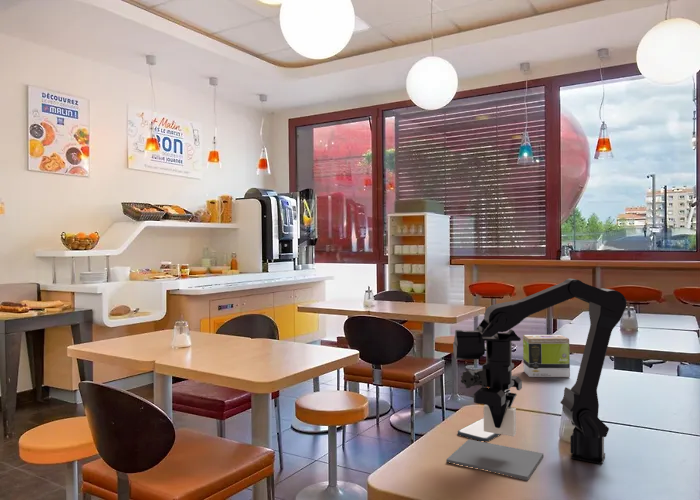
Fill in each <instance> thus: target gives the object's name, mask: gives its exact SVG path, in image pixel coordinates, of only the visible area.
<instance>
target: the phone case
mask: <svg viewBox="0 0 700 500" xmlns="http://www.w3.org/2000/svg"><path fill="white" fill-rule="evenodd" d="M459 435H461V436H460V437H462V436H465V437H464V438H466V437H468V438H467V439H470V438H472V439H471V440H473V439H476V440H475V441H477V440H479V441H488V442H490V441H492V440H494V439H495V438H494V437H496V438H498V437H499V436H501V435H500V434H496V433H491V432H485V431H484V417H482V418H480V419H478V420H477V421H474V422H472V423H471V424H468V425H467V426H465V427H464V426H463V428H460V429H459V430H458V431H457V436H459ZM498 435H499V436H498ZM493 438H494V439H493ZM491 439H492V440H491ZM489 440H490V441H489Z"/></svg>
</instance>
